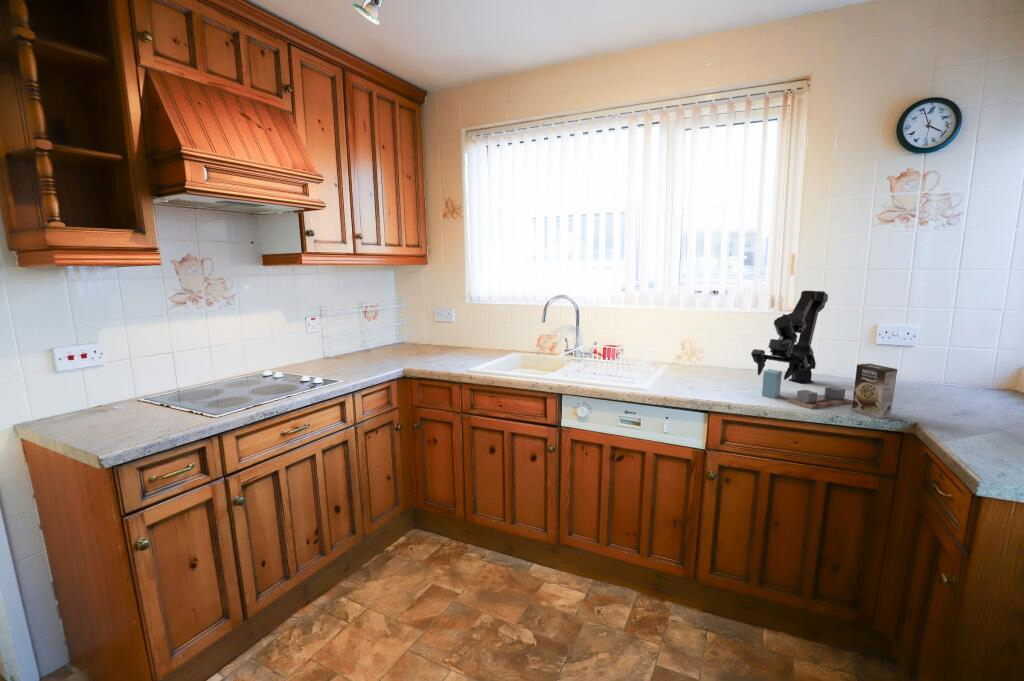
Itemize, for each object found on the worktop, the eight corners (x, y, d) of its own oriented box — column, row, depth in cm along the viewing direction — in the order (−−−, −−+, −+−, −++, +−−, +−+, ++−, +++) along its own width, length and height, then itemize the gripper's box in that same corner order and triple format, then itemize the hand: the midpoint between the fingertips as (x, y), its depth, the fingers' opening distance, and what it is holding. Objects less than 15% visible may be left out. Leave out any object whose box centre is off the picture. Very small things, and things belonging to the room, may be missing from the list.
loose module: (761, 395, 182) (763, 371, 180) (767, 393, 185) (769, 369, 183) (774, 398, 178) (776, 373, 177) (779, 395, 181) (781, 371, 180)
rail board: (810, 409, 165) (811, 406, 165) (788, 402, 173) (788, 399, 173) (852, 403, 171) (853, 400, 171) (828, 396, 180) (829, 393, 179)
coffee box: (850, 410, 163) (855, 364, 160) (863, 408, 165) (868, 362, 162) (879, 419, 154) (884, 370, 151) (892, 416, 156) (898, 368, 154)
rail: (806, 403, 167) (806, 402, 167) (797, 401, 171) (797, 399, 171) (843, 398, 173) (843, 397, 173) (834, 396, 177) (834, 394, 176)
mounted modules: (808, 402, 167) (808, 394, 167) (796, 399, 171) (797, 390, 171) (844, 397, 173) (845, 389, 172) (832, 394, 177) (833, 386, 176)
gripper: (754, 328, 187) (740, 360, 182) (808, 333, 173) (794, 368, 168) (761, 346, 194) (747, 377, 188) (813, 352, 180) (800, 386, 174)
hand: (771, 376), depth 180 cm, fingers open, 9 cm apart
